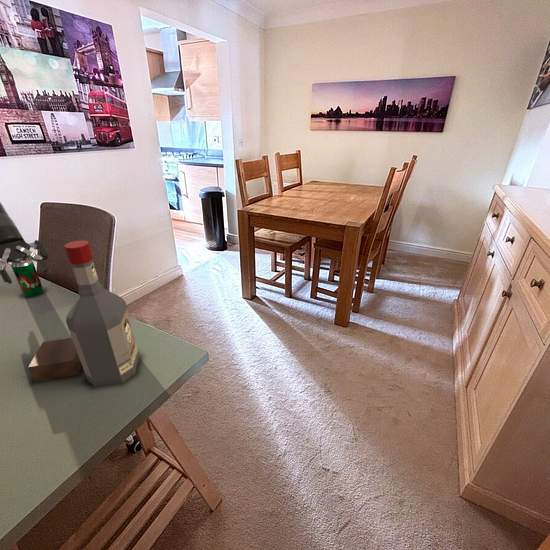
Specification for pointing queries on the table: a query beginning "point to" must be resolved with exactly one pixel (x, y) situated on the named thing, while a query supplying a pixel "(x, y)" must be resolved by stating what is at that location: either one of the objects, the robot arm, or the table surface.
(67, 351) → the stand
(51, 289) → the table surface
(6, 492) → the table surface
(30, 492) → the table surface
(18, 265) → the soda can
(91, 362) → the liquor
